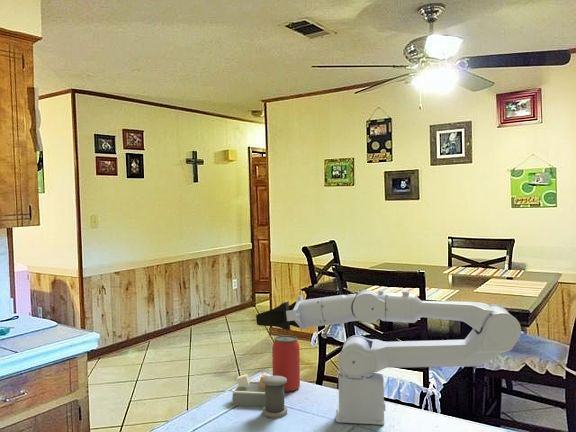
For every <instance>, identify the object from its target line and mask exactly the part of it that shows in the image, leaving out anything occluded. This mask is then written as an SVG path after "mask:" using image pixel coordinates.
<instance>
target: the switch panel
mask: <svg viewBox="0 0 576 432" xmlns="http://www.w3.org/2000/svg"><path fill="white" fill-rule="evenodd" d="M259 383H260V380H250V383H249V385H245V386H242V387H239V385H238V386H237V387H236V388H235V390H234V391H233V392H232V406H243V407H248V406H249V407H262V408H264V407H265V387H263V386H260V385H259Z"/></svg>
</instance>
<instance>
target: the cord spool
mask: <svg viewBox="0 0 576 432" xmlns="http://www.w3.org/2000/svg"><path fill="white" fill-rule="evenodd" d="M267 376H268V375H267ZM262 383H263V384H265V407H262V415H263V416H264V417H267V418H269V419H270V418H271V419H279V418H283V417H285V416H287V415H288V407H287V406H286V405H285V392H284V384H285V383H287V378H285V377H283V376H273V375H269V376H268V377H265V378H263V379H262Z"/></svg>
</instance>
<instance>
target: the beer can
mask: <svg viewBox="0 0 576 432" xmlns="http://www.w3.org/2000/svg"><path fill="white" fill-rule="evenodd" d="M273 339H274V341H273V344H272V346H271V347H272V348H271V349H272V351H271V352H272V358H271V359H272V376H283V377H285V378H287V383H285V384H284V393H286V392H287V393H290V392H293V391H296V390H299V388H300V386H301V370H300V369H301V368H300V367H301V365H300V359H301V358H300V353H301V352H300V343H299V341H298V337H297V336H294V335H288V334H287V335H284V334H283V335H277V336H275V337H274V338H273Z"/></svg>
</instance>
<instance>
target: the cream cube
mask: <svg viewBox="0 0 576 432" xmlns="http://www.w3.org/2000/svg"><path fill="white" fill-rule="evenodd" d="M236 380H237V384H238V386H239V387H242V386H245V385H249V383H250V381H251V380H250V377H249V375H248V373H245V374H242V375H239V376H237V378H236Z"/></svg>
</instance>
